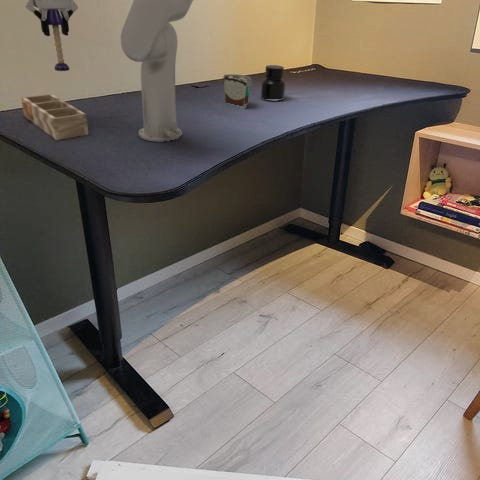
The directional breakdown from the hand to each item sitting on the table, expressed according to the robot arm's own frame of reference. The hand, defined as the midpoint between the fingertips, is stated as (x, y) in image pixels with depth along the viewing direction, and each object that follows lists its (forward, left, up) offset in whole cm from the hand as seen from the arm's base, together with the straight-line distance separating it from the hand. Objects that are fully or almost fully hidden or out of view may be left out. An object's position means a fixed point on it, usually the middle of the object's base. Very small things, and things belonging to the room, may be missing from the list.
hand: (56, 34), depth 136 cm
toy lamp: (0, 0, -10) cm, 10 cm away
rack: (-4, +6, -25) cm, 26 cm away
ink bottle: (-14, -76, -25) cm, 81 cm away
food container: (-14, -59, -25) cm, 66 cm away
